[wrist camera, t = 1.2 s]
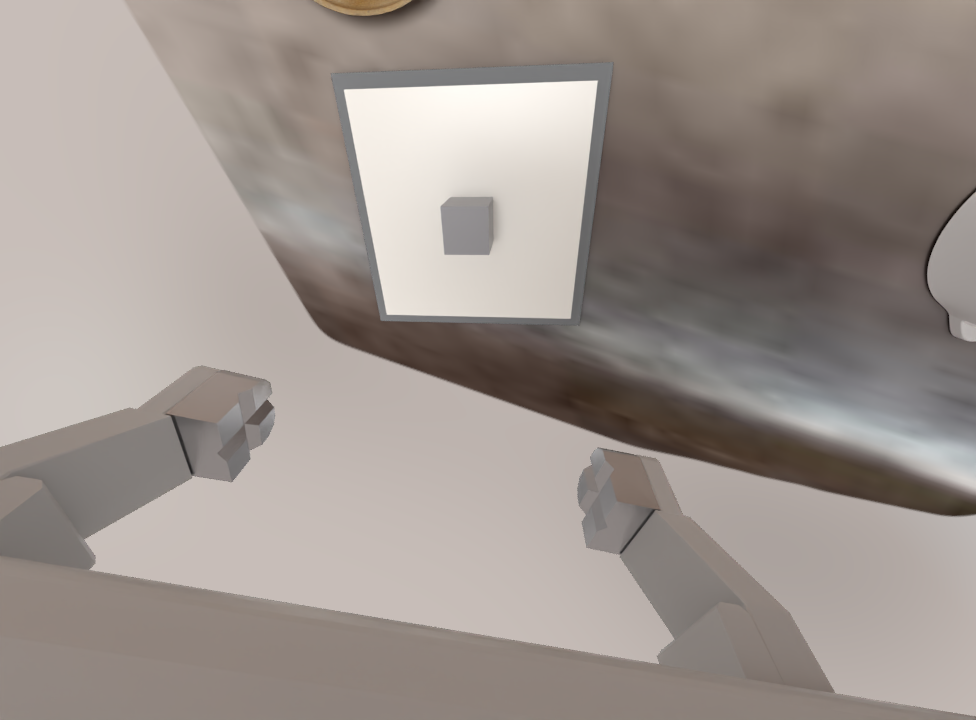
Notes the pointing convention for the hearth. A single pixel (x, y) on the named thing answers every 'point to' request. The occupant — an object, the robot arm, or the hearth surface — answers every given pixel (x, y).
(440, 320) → the charcoal mat
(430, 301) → the cover sheet
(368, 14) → the plant saucer
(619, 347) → the hearth surface
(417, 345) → the hearth surface
